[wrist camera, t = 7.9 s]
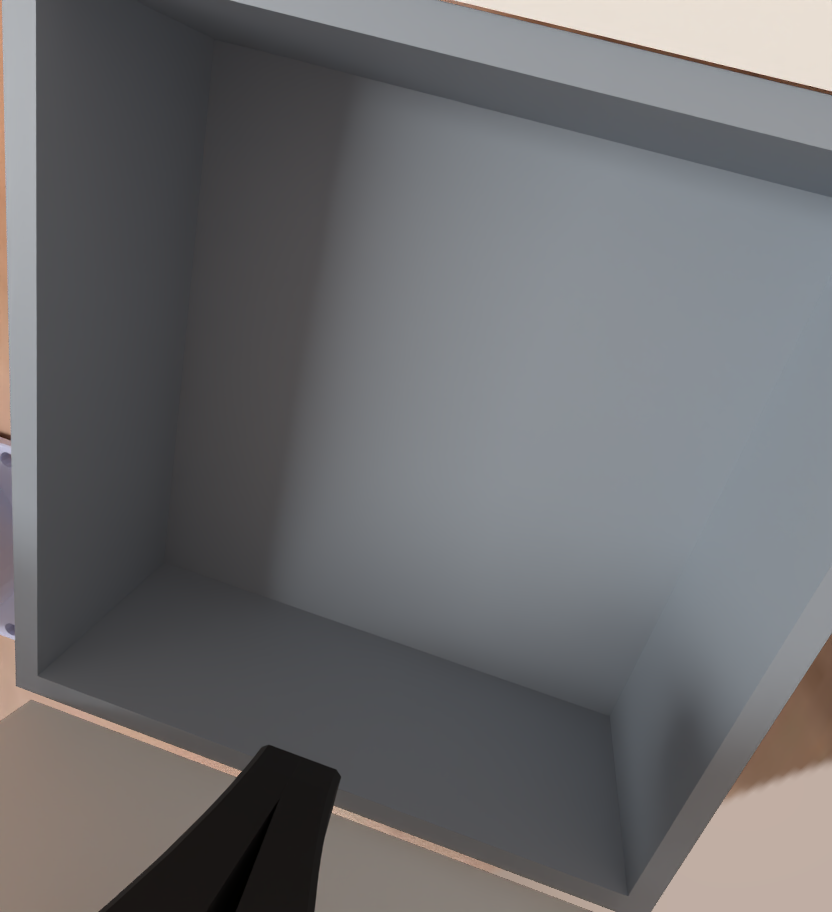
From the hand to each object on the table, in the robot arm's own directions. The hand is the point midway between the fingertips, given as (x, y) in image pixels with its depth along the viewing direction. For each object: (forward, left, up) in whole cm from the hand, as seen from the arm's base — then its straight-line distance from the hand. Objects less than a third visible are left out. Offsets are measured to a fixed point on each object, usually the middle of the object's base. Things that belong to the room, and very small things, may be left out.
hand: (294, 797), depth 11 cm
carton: (0, +4, -9) cm, 10 cm away
